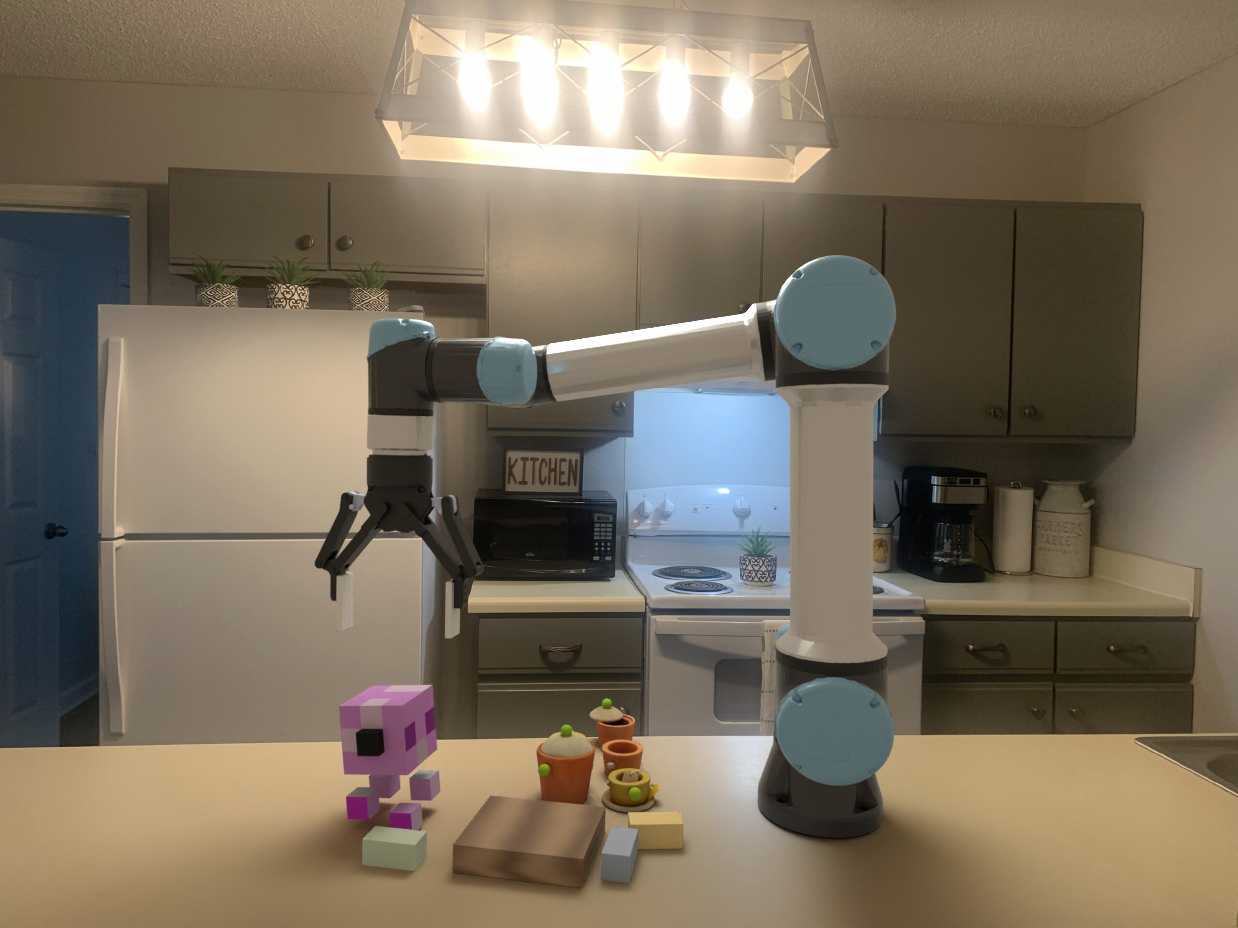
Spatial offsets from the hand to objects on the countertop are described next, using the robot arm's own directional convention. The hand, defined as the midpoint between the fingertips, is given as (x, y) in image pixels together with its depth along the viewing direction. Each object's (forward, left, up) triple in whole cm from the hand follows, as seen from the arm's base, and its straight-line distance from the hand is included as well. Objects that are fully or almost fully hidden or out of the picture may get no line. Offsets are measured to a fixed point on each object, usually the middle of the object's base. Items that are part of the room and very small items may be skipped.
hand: (397, 632), depth 97 cm
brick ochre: (-31, -1, -23) cm, 38 cm away
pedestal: (-18, +4, -22) cm, 29 cm away
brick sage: (-4, +9, -23) cm, 25 cm away
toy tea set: (-20, -18, -23) cm, 36 cm away
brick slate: (-28, +5, -23) cm, 36 cm away
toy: (0, 0, -23) cm, 23 cm away
